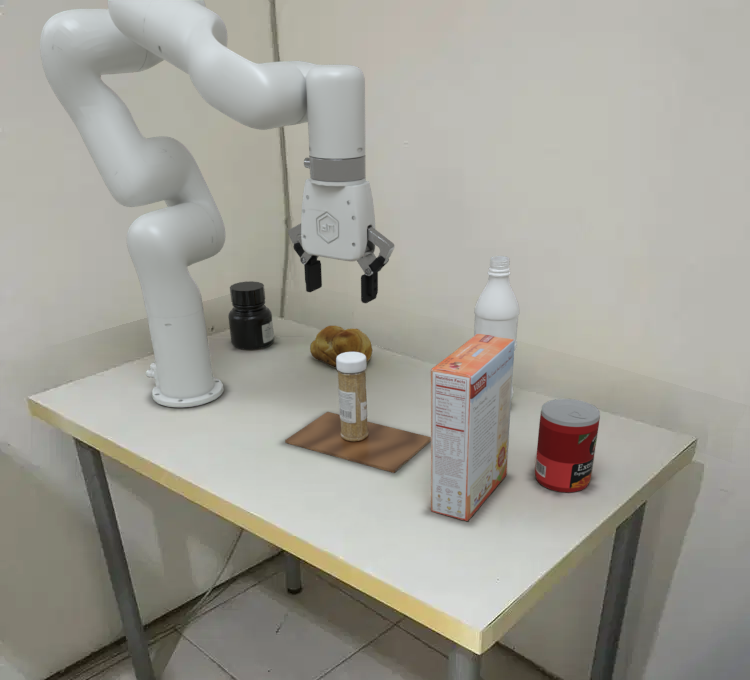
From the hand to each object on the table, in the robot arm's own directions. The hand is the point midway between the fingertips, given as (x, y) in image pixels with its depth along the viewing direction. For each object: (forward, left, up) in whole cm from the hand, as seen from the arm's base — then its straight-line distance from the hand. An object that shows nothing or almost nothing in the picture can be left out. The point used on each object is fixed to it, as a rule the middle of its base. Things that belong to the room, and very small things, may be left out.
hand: (341, 295), depth 113 cm
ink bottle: (-40, +25, -23) cm, 52 cm away
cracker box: (+25, -8, -23) cm, 35 cm away
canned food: (+35, +2, -23) cm, 42 cm away
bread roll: (-18, +25, -23) cm, 38 cm away
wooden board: (+3, -2, -23) cm, 23 cm away
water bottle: (+16, +20, -23) cm, 34 cm away
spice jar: (+2, -1, -22) cm, 22 cm away
